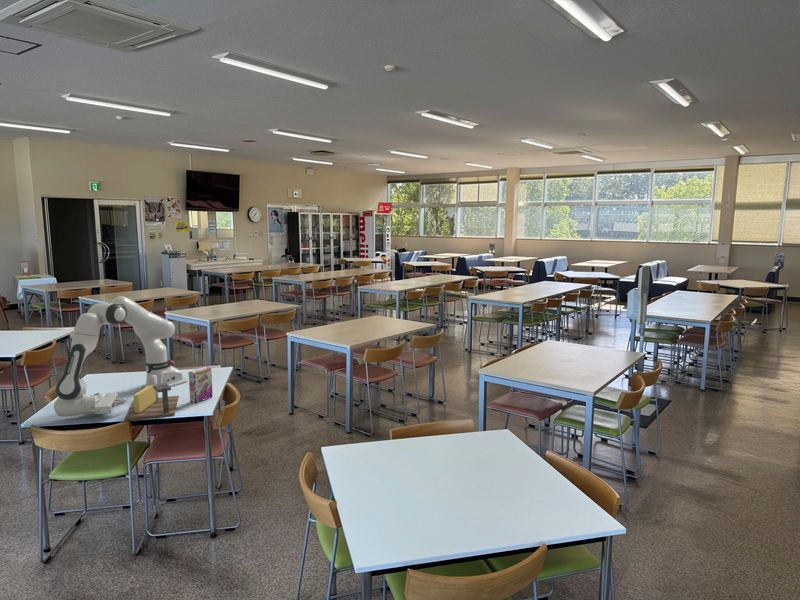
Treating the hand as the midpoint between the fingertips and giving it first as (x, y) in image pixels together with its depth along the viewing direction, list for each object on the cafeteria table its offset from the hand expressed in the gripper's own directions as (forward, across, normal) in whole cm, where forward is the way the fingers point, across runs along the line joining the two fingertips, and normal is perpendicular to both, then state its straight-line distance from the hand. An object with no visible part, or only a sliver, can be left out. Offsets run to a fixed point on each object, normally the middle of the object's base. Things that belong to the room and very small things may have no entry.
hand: (125, 401), depth 264 cm
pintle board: (+12, +2, +6) cm, 14 cm away
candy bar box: (+35, +8, +6) cm, 36 cm away
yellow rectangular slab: (+9, +3, +4) cm, 11 cm away
